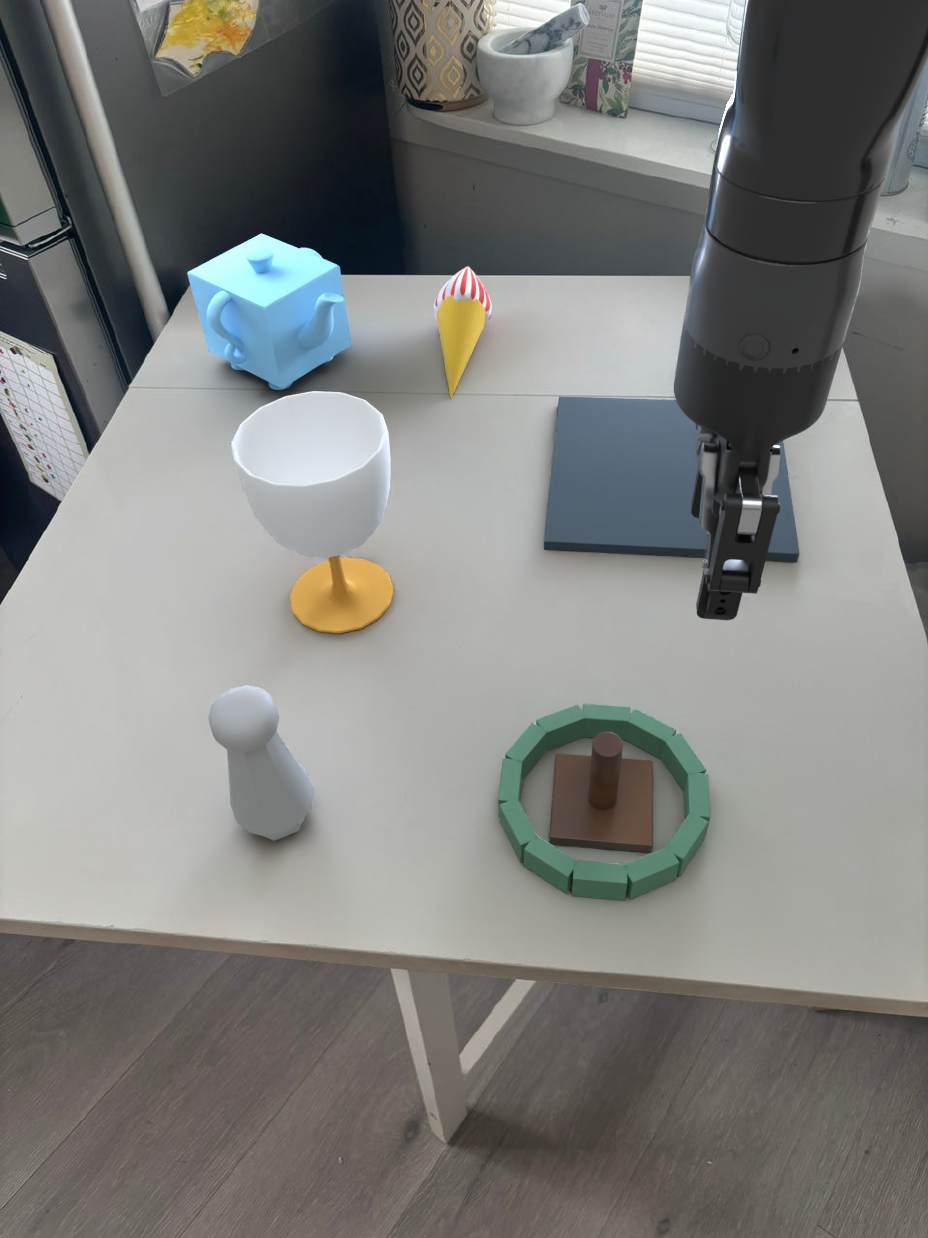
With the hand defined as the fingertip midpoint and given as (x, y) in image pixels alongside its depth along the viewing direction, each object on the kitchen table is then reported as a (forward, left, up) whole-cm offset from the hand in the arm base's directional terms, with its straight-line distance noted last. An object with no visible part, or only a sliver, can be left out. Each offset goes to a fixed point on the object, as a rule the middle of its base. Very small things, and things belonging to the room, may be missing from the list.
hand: (711, 562), depth 59 cm
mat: (0, -32, -20) cm, 37 cm away
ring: (+5, +5, -20) cm, 21 cm away
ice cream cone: (+23, -53, -20) cm, 61 cm away
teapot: (+40, -48, -20) cm, 66 cm away
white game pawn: (+28, +8, -20) cm, 36 cm away
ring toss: (+5, +5, -20) cm, 21 cm away
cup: (+28, -14, -20) cm, 37 cm away
